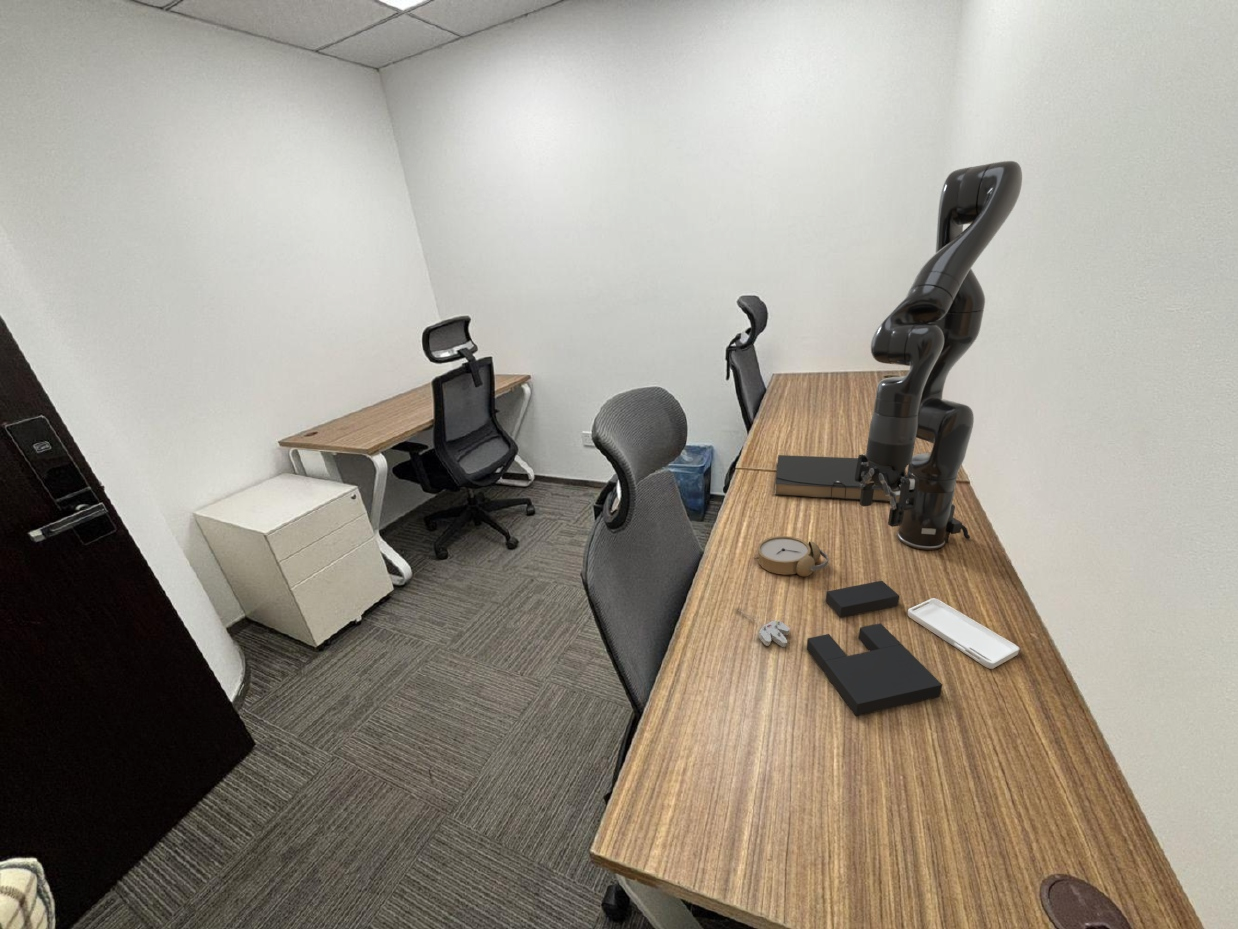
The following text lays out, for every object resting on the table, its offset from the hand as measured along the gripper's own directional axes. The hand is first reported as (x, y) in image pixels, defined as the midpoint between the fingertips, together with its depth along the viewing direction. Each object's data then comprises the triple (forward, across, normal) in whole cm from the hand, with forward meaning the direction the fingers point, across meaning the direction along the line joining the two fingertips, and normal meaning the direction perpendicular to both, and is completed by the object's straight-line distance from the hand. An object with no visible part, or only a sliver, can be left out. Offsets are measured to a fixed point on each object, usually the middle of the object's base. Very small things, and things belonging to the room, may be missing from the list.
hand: (879, 515), depth 94 cm
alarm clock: (+16, +10, +12) cm, 23 cm away
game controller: (+17, -7, +26) cm, 32 cm away
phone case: (+16, -17, -6) cm, 24 cm away
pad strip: (+16, -6, +5) cm, 18 cm away
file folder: (+15, +45, -20) cm, 51 cm away
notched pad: (+16, -21, +14) cm, 30 cm away
